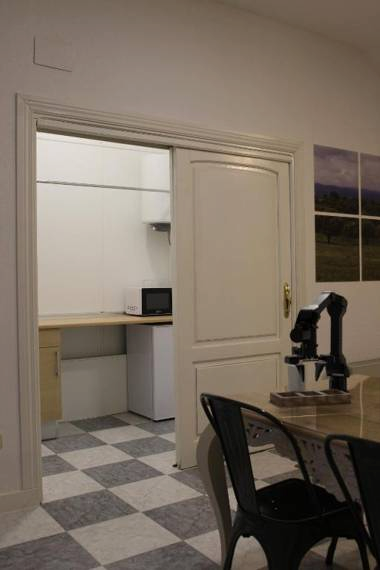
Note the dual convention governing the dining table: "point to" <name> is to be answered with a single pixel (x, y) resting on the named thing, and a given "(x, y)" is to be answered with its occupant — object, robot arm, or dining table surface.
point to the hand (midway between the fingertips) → (309, 381)
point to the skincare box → (295, 379)
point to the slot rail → (310, 397)
